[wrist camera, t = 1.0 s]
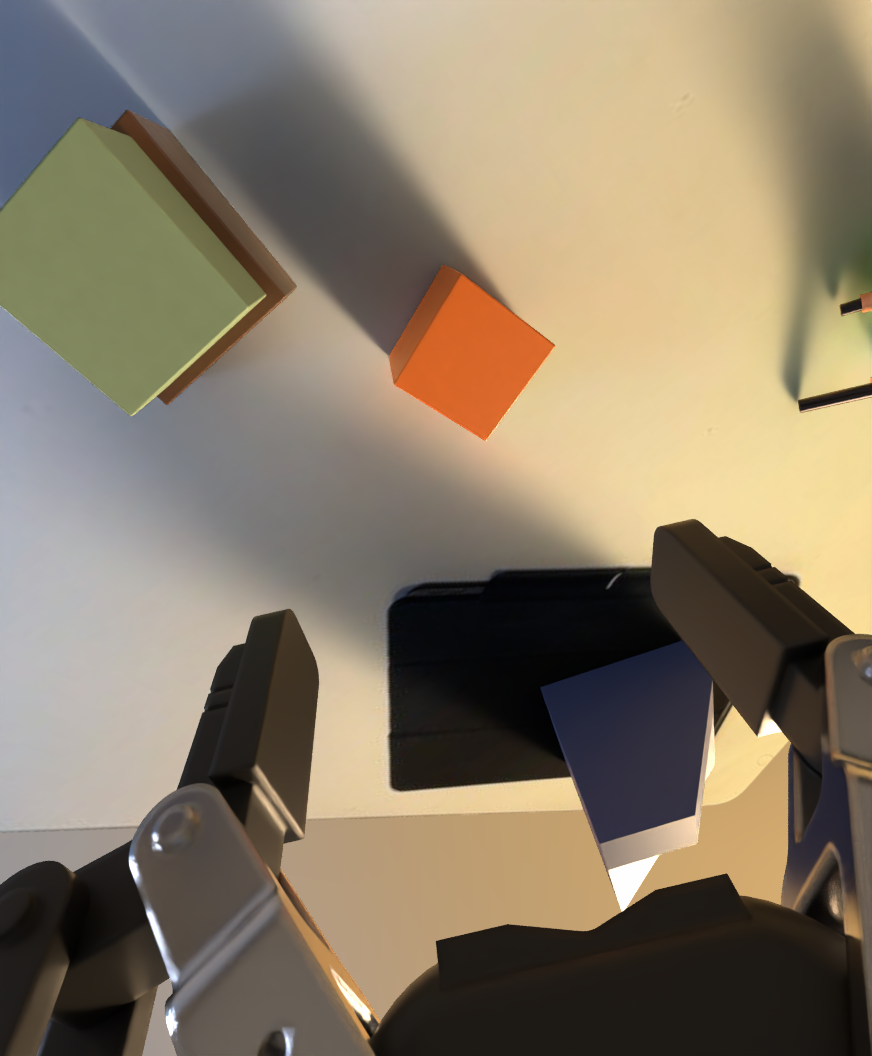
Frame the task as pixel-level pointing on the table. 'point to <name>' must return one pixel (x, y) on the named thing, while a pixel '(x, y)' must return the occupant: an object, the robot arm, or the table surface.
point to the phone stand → (638, 755)
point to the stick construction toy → (850, 394)
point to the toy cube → (466, 354)
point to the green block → (116, 267)
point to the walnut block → (223, 225)
